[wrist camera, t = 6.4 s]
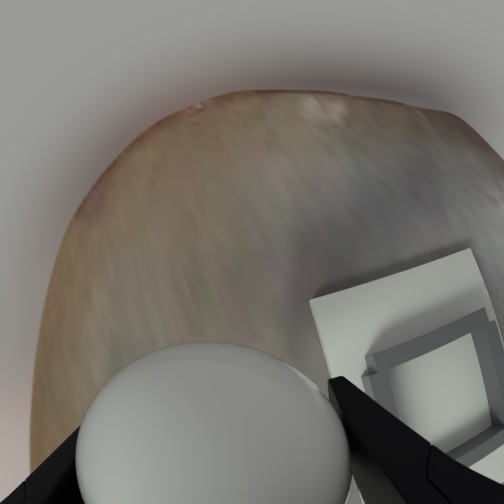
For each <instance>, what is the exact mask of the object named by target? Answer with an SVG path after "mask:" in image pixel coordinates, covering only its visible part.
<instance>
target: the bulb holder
mask: <svg viewBox="0 0 504 504" xmlns="http://www.w3.org/2000/svg"><path fill="white" fill-rule="evenodd" d="M309 305H310V308H311V311H312V315H313V318H314V322H315V325H316V328H317V332H318V335H319V339H320V342H321V346H322V349H323V353H324V356H325V360H326V364H327V367H328V371H329V374H330V378H334V377H338V376H344V377H345V378H347V379H348V380H349V381H350V382H352V383H353V384H354V385H355V386H357V387H358V388H359V389H361V390H362V391H363V392H364V393H366V394H367V395H368V396H370V397H371V398H372V399H373V400H375V401H376V402H377V403H379V404H380V405H381V406H382V407H384V408H385V409H386V410H388V411H389V412H390V413H392V414H393V415H394V416H396V417H397V418H398V419H399V420H401V421H402V422H403V423H405V424H406V425H407V426H409V427H410V428H411V429H413V430H414V431H415V432H417V433H418V434H419V435H421V436H422V437H424V438H425V439H426V440H428V441H429V442H430V443H431V445H435V446H436V447H437V448H439V449H440V450H441V451H443V452H444V453H446V454H447V455H449V456H450V457H452V458H453V459H455V460H456V461H458V462H459V463H461V464H463V465H465V466H467V467H468V468H470V469H472V470H474V471H476V472H478V473H480V474H482V475H484V476H486V477H488V478H490V479H492V480H494V481H496V482H498V483H502V482H504V342H503V338H502V335H501V331H500V328H499V325H498V321H497V318H496V315H495V312H494V309H493V306H492V303H491V300H490V297H489V294H488V291H487V288H486V286H485V283H484V280H483V278H482V275H481V273H480V270H479V268H478V265H477V263H476V260H475V258H474V255H473V253H472V251H471V248H468V249H465V250H463V251H460V252H457V253H454V254H452V255H449V256H446V257H443V258H441V259H438V260H435V261H432V262H429V263H426V264H423V265H420V266H417V267H414V268H411V269H408V270H405V271H402V272H399V273H396V274H393V275H390V276H387V277H384V278H381V279H378V280H375V281H371V282H368V283H365V284H362V285H358V286H355V287H352V288H349V289H345V290H342V291H338V292H335V293H332V294H328V295H325V296H321V297H318V298H314V299H311V300H310V302H309ZM359 494H360V498H361V502H362V504H365V503H364V501H363V498H362V496H361V493H360V491H359Z"/></svg>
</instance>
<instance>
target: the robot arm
mask: <svg viewBox="0 0 504 504" xmlns="http://www.w3.org/2000/svg"><path fill="white" fill-rule="evenodd" d="M328 393H329V401H330V403H331V404H332V405H333V407H334V409H335V410H336V412H337V414H338V416H339V417H340V420H341V422H342V424H343V426H344V429H345V431H346V434H347V438H348V441H349V446H350V451H351V459H352V475H353V477H354V479H355V482H356V484H357V486H358V489H359V491H360V493H361V496H362V498H363V501H364V503H365V504H504V485H503V484H501V483H498V482H496V481H494V480H492V479H490V478H488V477H486V476H484V475H482V474H480V473H478V472H476V471H474V470H472V469H470V468H468V467H467V466H465V465H463V464H461V463H459V462H458V461H456V460H455V459H453V458H452V457H450V456H449V455H447V454H446V453H444V452H443V451H441V450H440V449H439V448H437V447H436V446H435V445H431V443H430V442H429V441H428V440H426V439H425V438H424V437H422V436H421V435H419V434H418V433H417V432H415V431H414V430H413V429H411V428H410V427H409V426H407V425H406V424H405V423H403V422H402V421H401V420H399V419H398V418H397V417H396V416H394V415H393V414H392V413H390V412H389V411H388V410H386V409H385V408H384V407H382V406H381V405H380V404H379V403H377V402H376V401H375V400H373V399H372V398H371V397H370V396H368V395H367V394H366V393H364V392H363V391H362V390H361V389H359V388H358V387H357V386H355V385H354V384H353V383H352V382H350V381H349V380H348V379H347V378H345V377H344V376H338V377H334V378H330V379H329V380H328ZM79 429H80V426H79V427H78V428H77V429H76V430H75V431H74V432H73V433H72V434H71V435H70V436H69V437H68V438H67V439H66V440H65V441H64V442H63V443H62V444H61V445H60V446H59V447H58V448H57V449H56V450H55V451H54V452H53V453H52V454H51V455H50V456H49V457H48V458H47V459H46V460H45V461H44V462H43V463H42V464H41V465H40V466H39V467H38V468H37V469H36V470H35V471H34V472H33V473H31V474H30V475H29V476H28V477H27V479H26V480H25V481H23V482H22V483H21V484H20V485H19V486H18V487H17V488H16V489H15V490H14V491H13V492H12V493H11V494H10V495H9V496H8V497H6V498H5V499H4V500H3V501H2V502H0V504H85V503H84V501H83V498H82V496H81V492H80V489H79V485H78V481H77V475H76V466H75V452H76V443H77V437H78V432H79Z"/></svg>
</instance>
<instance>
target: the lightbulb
mask: <svg viewBox="0 0 504 504" xmlns="http://www.w3.org/2000/svg"><path fill="white" fill-rule="evenodd" d="M75 466H76V475H77V481H78V485H79V489H80V492H81V496H82V498H83V501H84V503H85V504H346V503H347V500H348V496H349V492H350V487H351V479H352V459H351V451H350V446H349V441H348V438H347V434H346V431H345V429H344V426H343V424H342V422H341V420H340V417H339V416H338V414H337V412H336V410H335V409H334V407H333V405H332V404H331V403H330V401H329V400H328V398H327V397H326V396H325V395H324V393H323V392H322V391H321V390H320V389H319V388H318V387H317V386H316V385H315V384H314V383H313V382H312V381H311V380H310V379H309V378H308V377H306V376H305V375H304V374H303V373H301V372H300V371H299V370H297V369H296V368H294V367H293V366H291V365H290V364H288V363H286V362H284V361H283V360H281V359H279V358H277V357H275V356H273V355H271V354H268V353H266V352H263V351H260V350H258V349H254V348H251V347H247V346H243V345H239V344H233V343H226V342H213V341H200V342H188V343H181V344H176V345H171V346H167V347H164V348H161V349H158V350H155V351H152V352H150V353H148V354H145V355H143V356H141V357H139V358H137V359H136V360H134V361H132V362H131V363H129V364H127V365H126V366H124V367H123V368H122V369H120V370H119V371H118V372H117V373H115V374H114V375H113V376H112V377H111V378H110V379H109V380H108V381H107V382H106V383H105V384H104V385H103V386H102V388H101V389H100V390H99V391H98V393H97V394H96V395H95V397H94V398H93V400H92V402H91V403H90V405H89V407H88V409H87V411H86V413H85V415H84V417H83V420H82V423H81V425H80V429H79V432H78V437H77V443H76V452H75Z"/></svg>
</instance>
